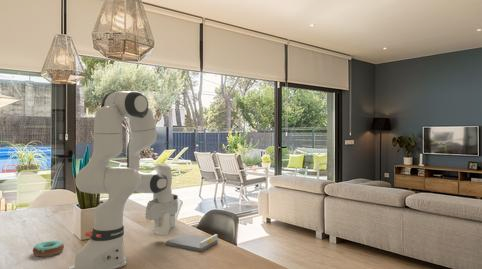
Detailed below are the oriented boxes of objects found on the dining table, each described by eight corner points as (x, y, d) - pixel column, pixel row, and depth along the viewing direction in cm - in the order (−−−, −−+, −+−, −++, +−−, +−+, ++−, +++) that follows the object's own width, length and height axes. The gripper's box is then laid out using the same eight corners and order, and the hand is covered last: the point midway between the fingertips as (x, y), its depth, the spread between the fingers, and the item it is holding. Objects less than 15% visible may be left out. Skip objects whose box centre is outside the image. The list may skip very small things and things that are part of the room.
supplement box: (170, 229, 184) (170, 206, 184) (157, 228, 186) (157, 205, 185) (175, 226, 191) (175, 203, 191) (163, 225, 193) (163, 203, 193)
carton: (154, 233, 166) (154, 212, 166) (159, 231, 169) (160, 211, 169) (163, 235, 163) (164, 214, 163) (169, 233, 167) (169, 212, 167)
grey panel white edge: (202, 251, 151) (202, 242, 151) (165, 244, 160) (166, 236, 160) (217, 242, 163) (217, 234, 163) (183, 236, 172) (183, 228, 172)
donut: (56, 246, 157) (57, 238, 157) (68, 252, 149) (68, 243, 149) (28, 253, 148) (28, 244, 148) (39, 260, 140) (39, 250, 140)
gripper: (152, 201, 156) (152, 231, 155) (180, 195, 174) (179, 222, 174) (142, 200, 159) (142, 229, 158) (170, 194, 177) (169, 220, 177)
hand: (161, 225), depth 166 cm, fingers closed on carton, 4 cm apart
